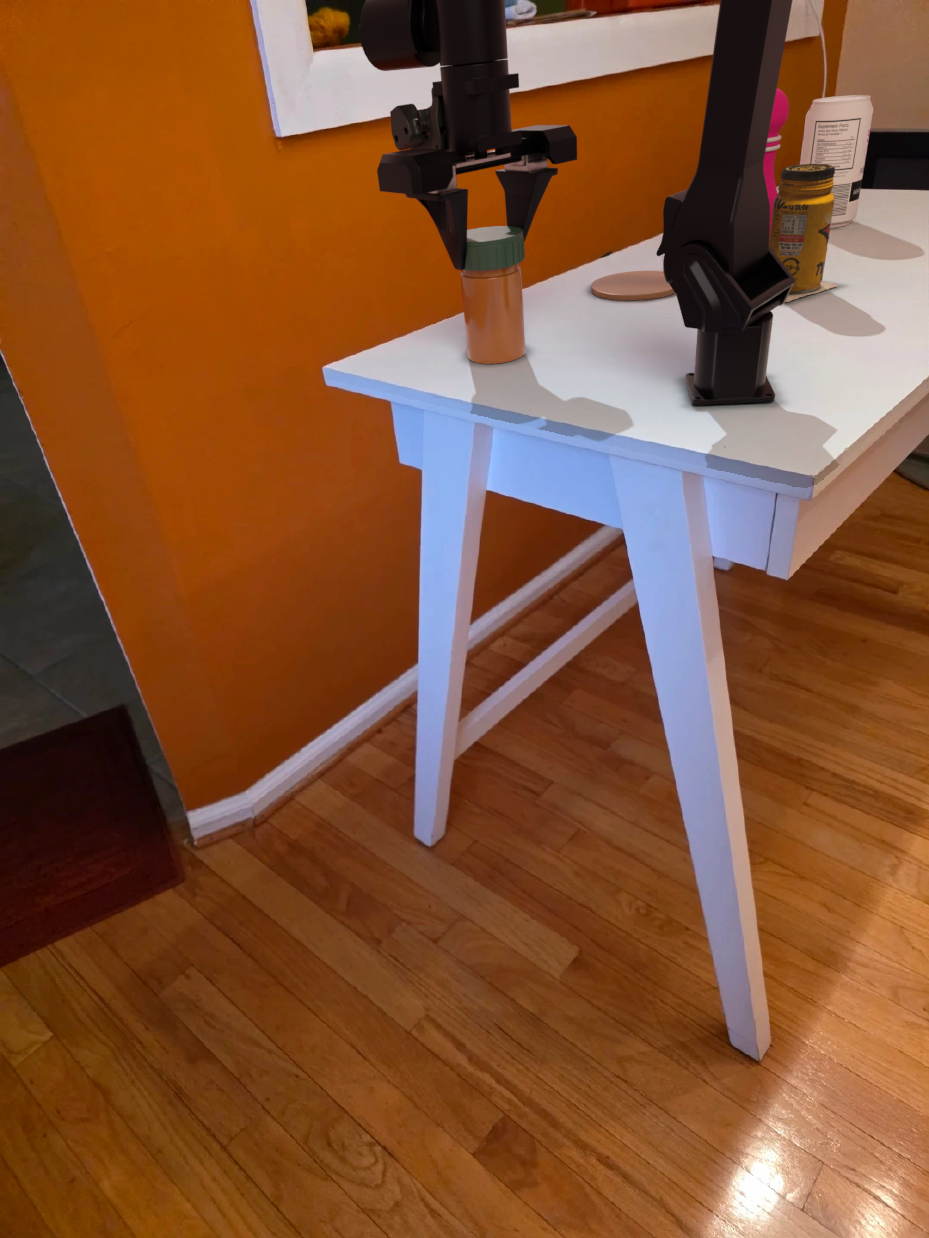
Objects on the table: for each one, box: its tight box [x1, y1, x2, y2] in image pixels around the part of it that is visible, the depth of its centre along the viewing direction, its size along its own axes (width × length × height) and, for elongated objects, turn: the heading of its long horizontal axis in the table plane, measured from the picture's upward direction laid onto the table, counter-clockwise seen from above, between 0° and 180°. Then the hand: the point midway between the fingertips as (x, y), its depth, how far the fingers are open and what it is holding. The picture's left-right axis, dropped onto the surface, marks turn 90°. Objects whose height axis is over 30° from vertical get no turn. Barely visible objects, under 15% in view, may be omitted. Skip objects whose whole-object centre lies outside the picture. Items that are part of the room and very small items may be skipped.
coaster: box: [590, 270, 676, 301], centre depth 98 cm, size 11×11×1 cm
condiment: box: [769, 164, 839, 303], centre depth 88 cm, size 7×8×12 cm
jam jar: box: [460, 263, 526, 365], centre depth 80 cm, size 6×6×10 cm
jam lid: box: [464, 225, 526, 271], centre depth 77 cm, size 7×7×2 cm
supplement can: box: [799, 94, 874, 229], centre depth 112 cm, size 8×8×15 cm
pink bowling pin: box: [763, 87, 790, 237], centre depth 98 cm, size 7×7×20 cm
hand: (488, 261), depth 78 cm, fingers closed on jam lid, 6 cm apart
